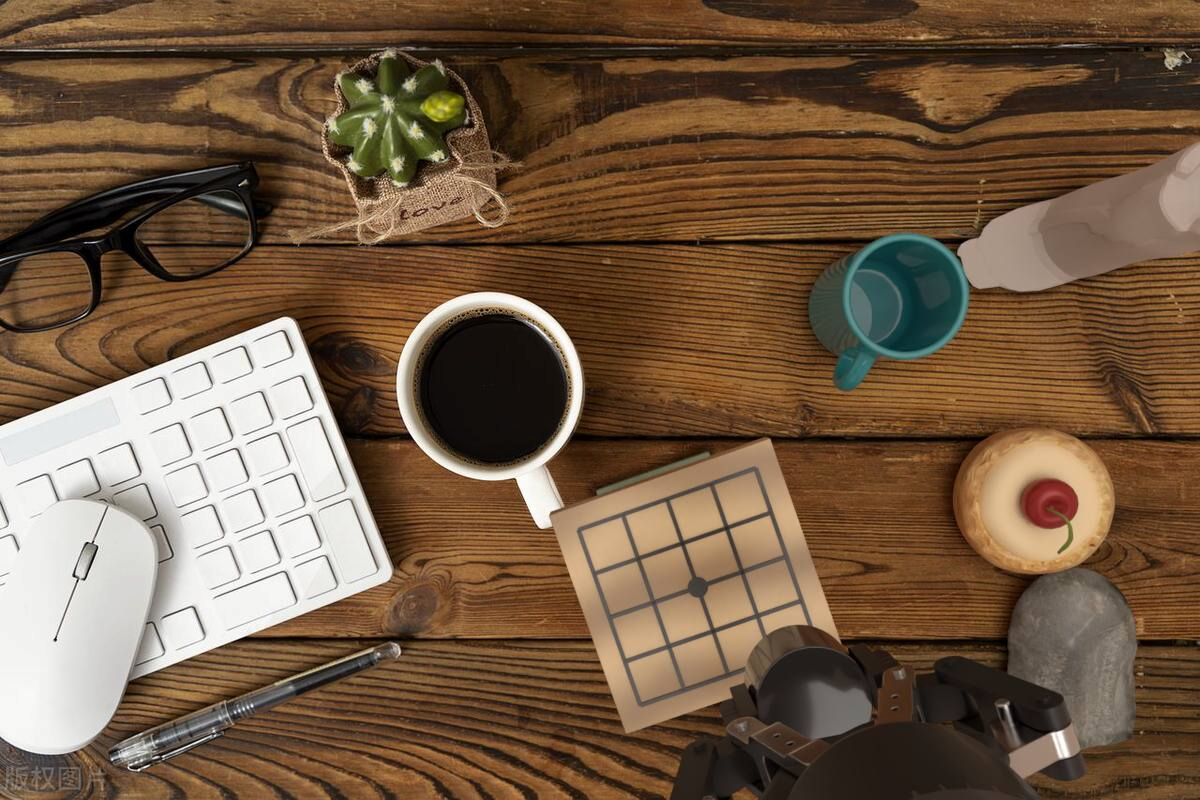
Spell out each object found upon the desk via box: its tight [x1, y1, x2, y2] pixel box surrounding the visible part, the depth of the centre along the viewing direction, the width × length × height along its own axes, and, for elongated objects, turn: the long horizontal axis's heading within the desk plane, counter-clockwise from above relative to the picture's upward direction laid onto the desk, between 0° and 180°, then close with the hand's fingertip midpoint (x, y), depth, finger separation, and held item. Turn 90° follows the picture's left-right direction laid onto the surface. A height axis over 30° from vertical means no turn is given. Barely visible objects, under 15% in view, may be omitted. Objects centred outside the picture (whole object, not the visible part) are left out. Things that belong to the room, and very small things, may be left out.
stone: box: [1006, 566, 1138, 750], centre depth 71 cm, size 11×4×15 cm
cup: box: [807, 232, 970, 393], centre depth 66 cm, size 9×12×11 cm
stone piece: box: [744, 625, 874, 740], centre depth 36 cm, size 5×5×3 cm
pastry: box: [952, 427, 1116, 575], centre depth 68 cm, size 12×12×9 cm
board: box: [548, 436, 843, 735], centre depth 62 cm, size 14×14×22 cm
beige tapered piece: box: [957, 140, 1200, 293], centre depth 62 cm, size 7×14×20 cm, turn 106°
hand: (803, 686), depth 37 cm, fingers closed on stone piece, 4 cm apart
